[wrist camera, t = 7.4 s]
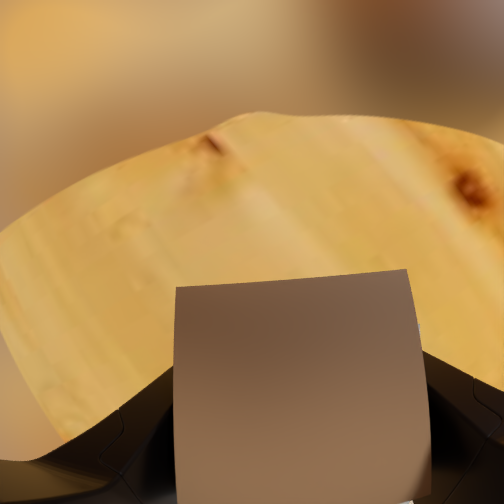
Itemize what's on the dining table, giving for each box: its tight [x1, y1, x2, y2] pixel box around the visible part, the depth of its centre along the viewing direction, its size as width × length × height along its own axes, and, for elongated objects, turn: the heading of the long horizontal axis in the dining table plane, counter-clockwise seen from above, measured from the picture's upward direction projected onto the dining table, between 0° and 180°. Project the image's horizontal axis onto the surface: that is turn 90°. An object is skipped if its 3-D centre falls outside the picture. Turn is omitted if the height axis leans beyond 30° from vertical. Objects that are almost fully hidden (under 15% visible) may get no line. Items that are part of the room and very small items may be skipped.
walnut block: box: [173, 269, 431, 504], centre depth 9 cm, size 4×4×10 cm
